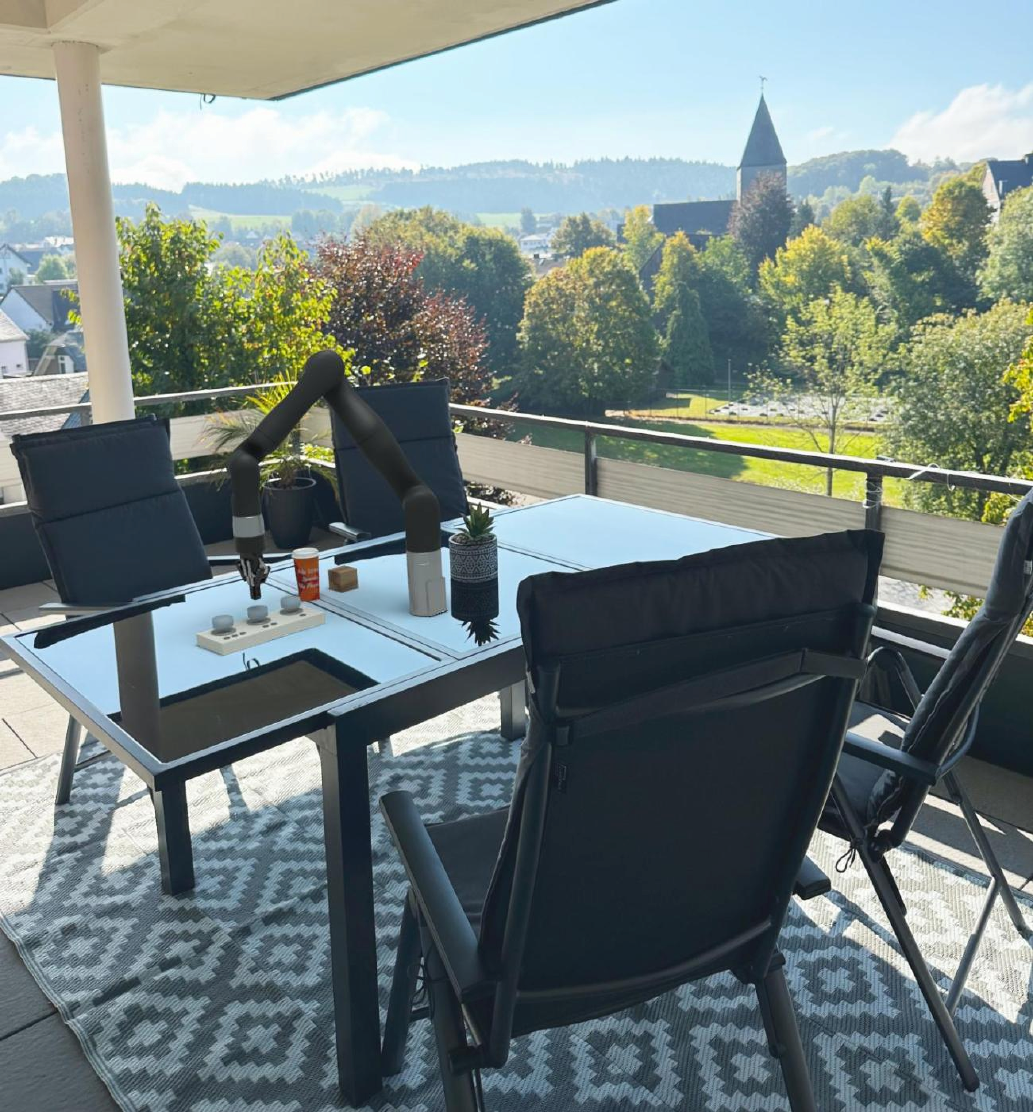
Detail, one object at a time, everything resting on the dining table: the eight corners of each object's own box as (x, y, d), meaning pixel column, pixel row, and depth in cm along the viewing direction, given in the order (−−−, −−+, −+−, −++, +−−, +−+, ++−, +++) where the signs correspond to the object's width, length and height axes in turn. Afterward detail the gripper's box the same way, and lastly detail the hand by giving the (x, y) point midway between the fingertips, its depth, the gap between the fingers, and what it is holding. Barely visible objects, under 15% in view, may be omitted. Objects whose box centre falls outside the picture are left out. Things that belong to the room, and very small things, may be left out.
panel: (325, 623, 260) (324, 611, 259) (223, 655, 239) (222, 642, 238) (298, 614, 268) (297, 603, 267) (197, 645, 247) (195, 632, 246)
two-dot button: (272, 615, 254) (271, 607, 253) (255, 620, 250) (254, 612, 250) (260, 611, 257) (260, 604, 256) (243, 616, 253) (243, 608, 253)
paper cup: (300, 604, 278) (295, 555, 274) (292, 597, 284) (288, 549, 281) (327, 599, 281) (323, 551, 277) (319, 592, 288) (315, 545, 284)
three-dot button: (237, 625, 247) (236, 617, 246) (219, 630, 243) (218, 622, 243) (226, 621, 250) (225, 613, 249) (208, 626, 246) (207, 618, 246)
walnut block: (358, 588, 291) (356, 568, 290) (342, 593, 287) (340, 573, 285) (345, 584, 295) (344, 565, 294) (329, 589, 291) (327, 569, 289)
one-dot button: (304, 605, 261) (303, 598, 260) (288, 610, 257) (287, 602, 257) (293, 602, 264) (292, 594, 263) (277, 606, 260) (276, 599, 260)
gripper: (277, 533, 246) (283, 600, 251) (247, 526, 255) (254, 591, 259) (250, 539, 241) (258, 607, 245) (221, 531, 250) (228, 598, 254)
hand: (256, 599), depth 252 cm, fingers closed
